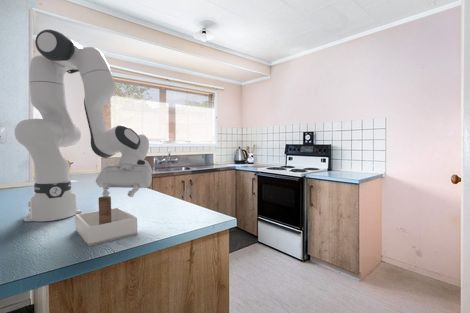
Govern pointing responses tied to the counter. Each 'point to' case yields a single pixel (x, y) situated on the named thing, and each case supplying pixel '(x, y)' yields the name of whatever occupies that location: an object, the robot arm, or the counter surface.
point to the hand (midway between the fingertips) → (117, 195)
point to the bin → (105, 226)
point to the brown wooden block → (104, 210)
